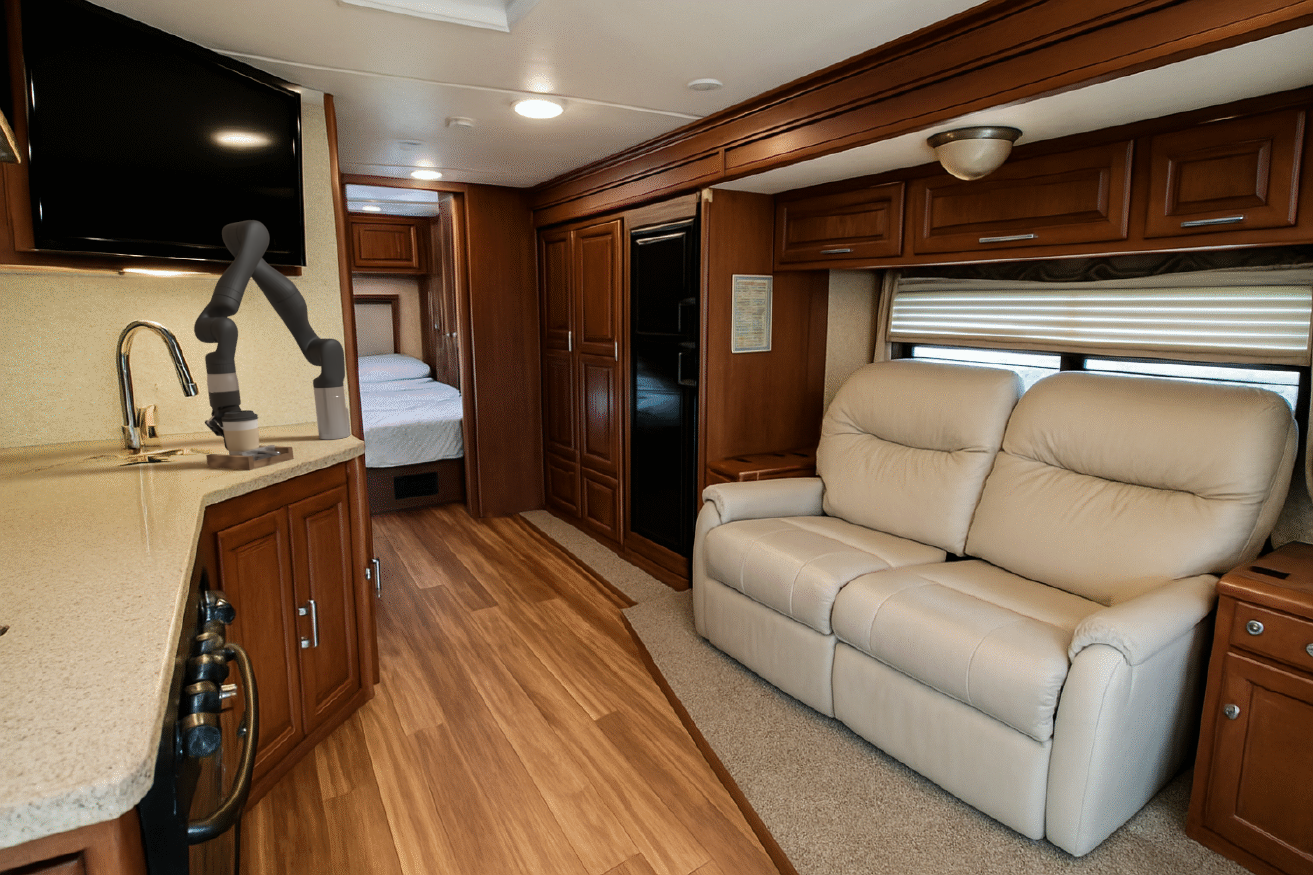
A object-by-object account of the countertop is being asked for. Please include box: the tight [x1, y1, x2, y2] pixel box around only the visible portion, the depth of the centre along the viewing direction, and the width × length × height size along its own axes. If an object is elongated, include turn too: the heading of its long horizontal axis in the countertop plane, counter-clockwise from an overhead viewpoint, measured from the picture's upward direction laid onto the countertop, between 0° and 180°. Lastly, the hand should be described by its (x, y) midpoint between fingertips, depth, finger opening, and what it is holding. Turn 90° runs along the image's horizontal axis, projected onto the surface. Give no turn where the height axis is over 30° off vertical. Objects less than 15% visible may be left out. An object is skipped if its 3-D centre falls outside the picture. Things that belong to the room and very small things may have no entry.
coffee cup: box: [221, 409, 260, 455], centre depth 200 cm, size 9×9×15 cm
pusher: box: [239, 444, 280, 461], centre depth 199 cm, size 8×11×4 cm
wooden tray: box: [205, 444, 294, 471], centre depth 201 cm, size 15×15×4 cm
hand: (231, 449), depth 203 cm, fingers closed
